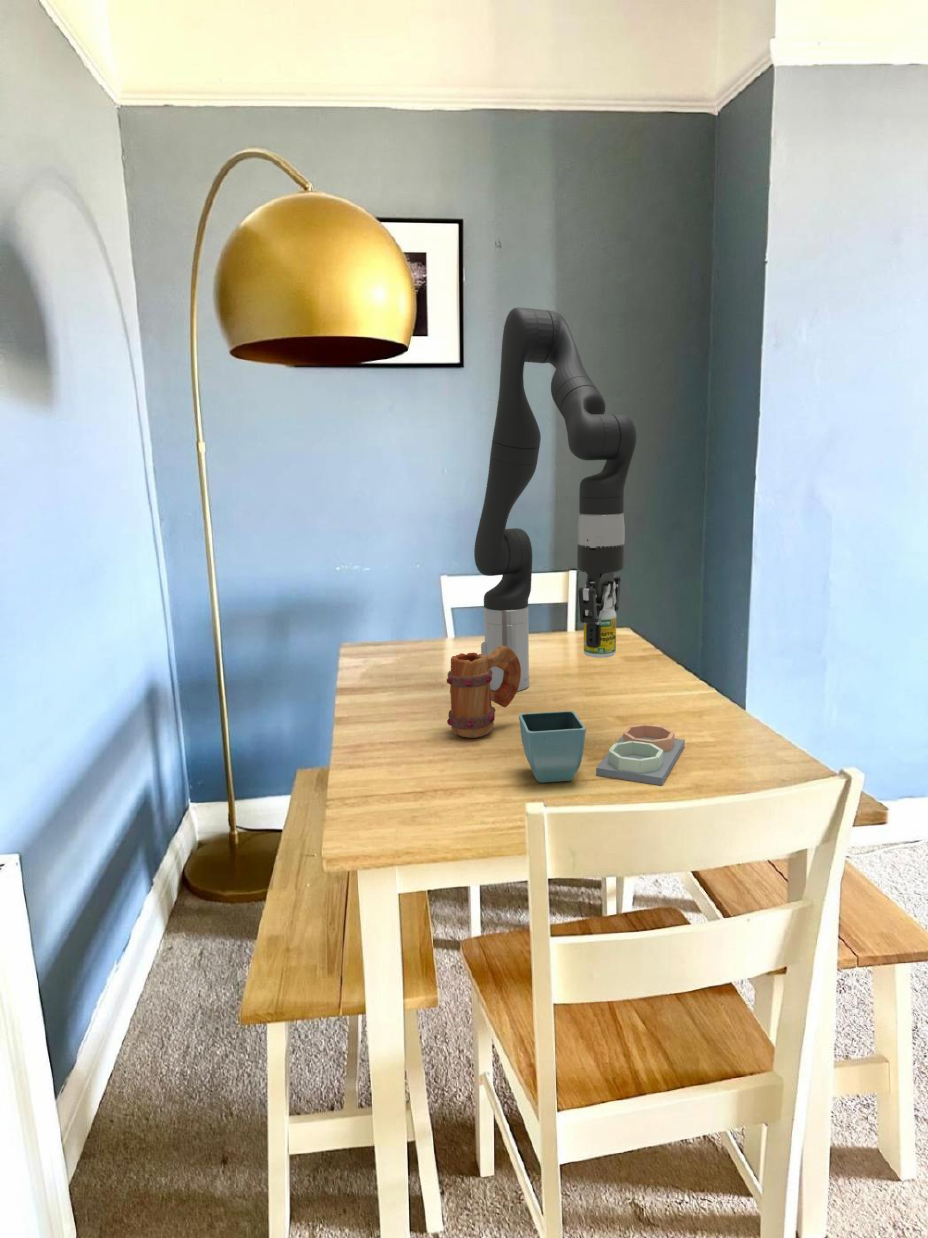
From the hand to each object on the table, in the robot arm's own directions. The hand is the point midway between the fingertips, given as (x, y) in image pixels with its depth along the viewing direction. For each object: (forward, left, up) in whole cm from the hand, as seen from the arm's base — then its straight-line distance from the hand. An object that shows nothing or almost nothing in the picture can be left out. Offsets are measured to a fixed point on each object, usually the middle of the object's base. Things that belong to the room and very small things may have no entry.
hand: (599, 642), depth 132 cm
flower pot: (-2, -17, -18) cm, 25 cm away
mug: (-20, -3, -17) cm, 27 cm away
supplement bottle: (0, 0, -2) cm, 2 cm away
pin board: (+9, -6, -17) cm, 20 cm away
